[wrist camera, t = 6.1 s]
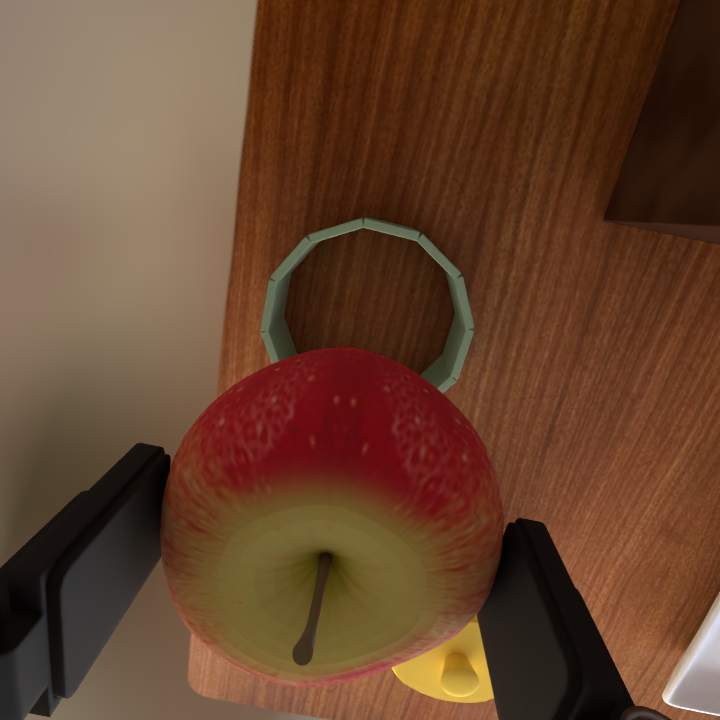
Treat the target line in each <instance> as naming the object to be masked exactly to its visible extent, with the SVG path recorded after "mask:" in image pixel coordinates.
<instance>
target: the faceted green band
mask: <svg viewBox="0 0 720 720" xmlns="http://www.w3.org/2000/svg"><path fill="white" fill-rule="evenodd" d="M363 227H364V228H367V229H371V230H375V231H379V232H383V233H387V234H391V235H395V236H399V237H403V238H407V239H411V240H414V241H417V242H418V243H419V244H420V245H421V246H422V247H423V248H424V249H425V250H426V251H427V252H428V253H429V254H430V255H431V256H432V257H433V258H434V259H435V260H436V261H437V262H438V263H439V264H440V265H441V266H442V267H443V268H444V269H445V273H446V277H447V281H448V285H449V290H450V294H451V298H452V302H453V307H454V311H455V315H454V318H453V322H452V325H451V328H450V331H449V334H448V337H447V340H446V344H445V347H444V350H443V353H442V355H441V356H440V357H439V358H438V359H437V360H435V361H434V362H433V363H432V364H431V365H430V366H429V367H428V368H427V369H426V370H425V371H424V372H422V373H421V374H420V376H422V377H423V378H424V379H426V380H427V381H428V382H430V383H431V384H432V385H434V386H435V387H436V388H437V389H438V390H439V391H440V392H442V393H444V392H445V391H446V390H447V389H448V388H449V387H451V386H452V385H453V384H454V383H455V382H456V379H455V378H459V375H460V372H461V369H462V366H463V363H464V360H465V357H466V354H467V351H468V348H469V345H470V342H471V339H472V336H473V333H474V330H473V329H472V328H474V323H473V318H472V314H471V309H470V305H469V300H468V296H467V292H466V287H465V283H464V278H463V276H462V275H461V272H460V271H459V270H458V269H457V268H456V267H455V266H454V265H453V264H452V263H451V262H450V261H449V260H448V259H447V258H446V257H445V256H444V255H443V254H442V253H441V252H440V251H439V249H438V248H437V247H436V246H435V245H434V244H433V243H432V242H431V241H430V240H429V239H428V238H427V237H426V236H425V235H424V234H423V233H421V232H420V231H418V230H416V229H415V228H411V227H407V226H403V225H399V224H395V223H391V222H387V221H383V220H379V219H376V218H372V217H367V218H365V217H362V218H359V219H356V220H353V221H349V222H346V223H343V224H340V225H337V226H333V227H330V228H327V229H324V230H320V231H317V232H314V233H311V234H309V235H308V236H306V237H304V238H303V240H302V241H301V242H300V243H299V244H298V245H297V246H296V248H295V249H294V250H293V251H292V252H291V253H290V254H289V256H288V257H287V258H286V259H285V260H284V261H283V262H282V264H281V265H280V266H279V267H278V268H277V269H276V270H275V272H274V273H273V274H272V275H271V276H270V277H271V279H269V281H268V287H267V293H266V299H265V305H264V311H263V316H262V322H261V328H260V330H262V332H261V336H262V338H263V341H264V344H265V347H266V349H267V352H268V355H269V357H270V360H271V363H272V364H274V363H276V362H278V361H281V360H283V359H286V358H289V357H292V356H295V355H297V351H296V348H295V345H294V343H293V340H292V337H291V334H290V331H289V328H288V326H287V323H286V320H285V317H284V312H285V307H286V302H287V296H288V291H289V286H290V280H291V275H292V272H293V271H294V270H295V269H296V267H297V266H298V265H299V264H300V263H301V262H302V261H303V260H304V258H305V257H306V256H307V255H308V254H309V253H310V252H311V251H312V250H313V248H314V247H315V246H316V245H317V244H318V243H319V242H320V241H321V240H325V239H328V238H331V237H335V236H338V235H341V234H344V233H348V232H351V231H354V230H357V229H361V228H363Z"/></svg>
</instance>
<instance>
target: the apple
mask: <svg viewBox="0 0 720 720" xmlns="http://www.w3.org/2000/svg"><path fill="white" fill-rule="evenodd" d="M503 518H504V517H503V508H502V499H501V492H500V486H499V482H498V478H497V475H496V472H495V469H494V466H493V463H492V460H491V458H490V456H489V453H488V451H487V449H486V447H485V446H484V444H483V442H482V440H481V439H480V437H479V436H478V434H477V432H476V431H475V429H474V428H473V426H472V425H471V423H470V422H469V421H468V420H467V418H466V417H465V416H464V415H463V414H462V413H461V412H460V410H459V409H458V408H457V407H456V406H455V405H454V404H453V403H452V402H451V401H450V400H449V399H448V398H447V397H446V396H445V395H444V394H443V393H442V392H440V391H439V390H438V389H437V388H436V387H435V386H434V385H432V384H431V383H430V382H428V381H427V380H426V379H424V378H423V377H422V376H420V375H419V374H417V373H415V372H414V371H412V370H411V369H409V368H408V367H406V366H404V365H402V364H400V363H399V362H397V361H395V360H393V359H390V358H388V357H386V356H384V355H381V354H378V353H375V352H372V351H369V350H365V349H360V348H355V347H332V348H324V349H318V350H312V351H309V352H305V353H301V354H297V355H295V356H292V357H289V358H286V359H283V360H281V361H278V362H276V363H274V364H271V365H269V366H267V367H265V368H263V369H261V370H259V371H257V372H256V373H254V374H252V375H250V376H248V377H246V378H245V379H243V380H241V381H240V382H238V383H237V384H235V385H234V386H232V387H231V388H230V389H228V390H227V391H226V392H225V393H223V394H222V395H221V396H220V397H219V398H217V399H216V400H215V401H214V402H213V403H212V404H211V405H210V406H209V407H208V408H207V409H206V410H205V411H204V412H203V413H202V414H201V415H200V417H199V418H198V419H197V420H196V422H195V423H194V424H193V426H192V427H191V428H190V430H189V431H188V433H187V434H186V435H185V437H184V439H183V441H182V443H181V445H180V447H179V449H178V451H177V453H176V455H175V457H174V460H173V462H172V465H171V468H170V471H169V475H168V478H167V482H166V486H165V489H164V494H163V500H162V508H161V530H160V537H161V554H162V563H163V568H164V573H165V577H166V581H167V585H168V588H169V591H170V594H171V596H172V599H173V602H174V604H175V606H176V609H177V611H178V613H179V615H180V617H181V619H182V620H183V621H184V623H185V625H186V626H187V627H188V629H189V630H190V631H191V632H192V633H193V634H194V635H195V637H196V638H197V639H199V640H200V641H201V642H202V643H203V644H204V645H205V646H206V647H207V648H209V649H210V650H211V651H213V652H214V653H215V654H216V655H218V656H219V657H221V658H222V659H224V660H225V661H227V662H228V663H230V664H232V665H234V666H235V667H237V668H239V669H241V670H243V671H245V672H247V673H250V674H252V675H254V676H257V677H259V678H262V679H265V680H268V681H271V682H276V683H280V684H284V685H291V686H298V687H318V686H327V685H333V684H338V683H342V682H347V681H351V680H354V679H358V678H361V677H365V676H368V675H371V674H374V673H377V672H380V671H383V670H386V669H388V668H391V667H394V666H396V665H399V664H401V663H404V662H406V661H409V660H411V659H413V658H416V657H418V656H420V655H422V654H424V653H427V652H429V651H431V650H433V649H435V648H437V647H438V646H440V645H442V644H444V643H445V642H447V641H449V640H450V639H452V638H453V637H454V636H456V635H457V634H458V633H460V632H461V631H462V630H463V629H464V628H465V627H466V626H467V625H468V624H469V623H470V621H471V620H472V619H473V618H474V617H475V616H476V615H477V613H478V612H479V611H480V609H481V608H482V606H483V605H484V603H485V601H486V599H487V597H488V595H489V593H490V591H491V588H492V586H493V583H494V580H495V577H496V574H497V570H498V567H499V563H500V559H501V552H502V542H503Z"/></svg>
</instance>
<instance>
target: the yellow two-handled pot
mask: <svg viewBox="0 0 720 720" xmlns="http://www.w3.org/2000/svg"><path fill="white" fill-rule="evenodd" d="M392 669H393V671H394V672H395V674H396V675H397V676H398V678H399V679H400V680H401V681H402V682H403V683H404V684H406V685H407V686H409V687H411V688H412V689H414V690H416V691H418V692H420V693H423V694H425V695H428V696H431V697H434V698H437V699H441V700H446V701H453V702H463V703H475V702H483V701H487V700H490V699H492V698H494V695H493V690H492V686H491V681H490V676H489V671H488V667H487V662H486V657H485V653H484V648H483V643H482V638H481V634H480V629H479V624H478V619H477V615H476V616H475V617H474V618H473V619H472V620H471V621H470V623H469V624H468V625H467V626H466V627H465V628H464V629H463V630H462V631H461V632H460V633H458V634H457V635H456V636H454V637H453V638H452V639H450V640H449V641H447V642H445V643H444V644H442V645H440V646H438V647H437V648H435V649H433V650H431V651H429V652H427V653H424V654H422V655H420V656H418V657H416V658H413V659H411V660H409V661H406V662H404V663H401V664H399V665H396V666H394V667H392Z"/></svg>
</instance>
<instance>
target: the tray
mask: <svg viewBox="0 0 720 720" xmlns="http://www.w3.org/2000/svg"><path fill="white" fill-rule="evenodd" d="M662 696H663V700H664V701H665V702H666V703H667V704H669V705H672V706H675V707H679V708H684V709H688V710H693V711H698V712H703V713H709V714H714V715H719V716H720V592H719V594H718V596H717V598H716V599H715V601H714V603H713V605H712V606H711V608H710V610H709V612H708V614H707V615H706V617H705V619H704V621H703V622H702V624H701V626H700V628H699V630H698V631H697V633H696V635H695V636H694V638H693V640H692V641H691V643H690V645H689V646H688V648H687V650H686V652H685V653H684V655H683V657H682V658H681V660H680V661H679V663H678V665H677V666H676V668H675V669H674V671H673V673H672V676H671V678H670V680H669V682H668V684H667V686H666V688H665V690H664V692H663V695H662Z"/></svg>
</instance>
